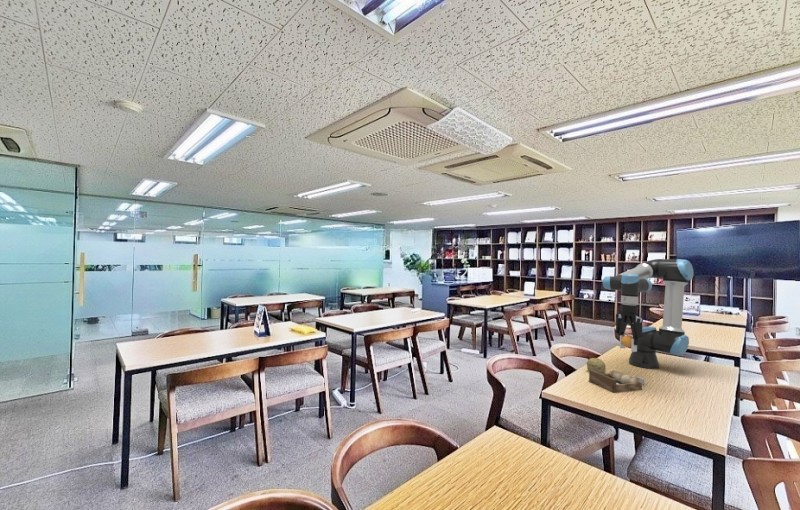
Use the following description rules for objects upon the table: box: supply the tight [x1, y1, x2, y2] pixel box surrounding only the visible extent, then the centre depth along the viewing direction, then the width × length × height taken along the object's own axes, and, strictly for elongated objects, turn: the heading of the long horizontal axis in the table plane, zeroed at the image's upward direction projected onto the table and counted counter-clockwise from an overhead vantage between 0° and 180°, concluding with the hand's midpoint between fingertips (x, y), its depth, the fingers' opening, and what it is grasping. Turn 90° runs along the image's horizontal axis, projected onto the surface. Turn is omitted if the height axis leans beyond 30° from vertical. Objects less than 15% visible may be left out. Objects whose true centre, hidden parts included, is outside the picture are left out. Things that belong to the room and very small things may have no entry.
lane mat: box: [588, 380, 623, 393], centre depth 175 cm, size 17×15×1 cm
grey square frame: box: [633, 376, 645, 385], centre depth 179 cm, size 4×4×2 cm
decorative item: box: [586, 357, 607, 374], centre depth 195 cm, size 10×10×10 cm
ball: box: [621, 334, 633, 349], centre depth 177 cm, size 6×6×6 cm
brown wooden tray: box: [588, 369, 643, 394], centre depth 175 cm, size 17×15×6 cm
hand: (628, 349), depth 177 cm, fingers closed on ball, 6 cm apart
